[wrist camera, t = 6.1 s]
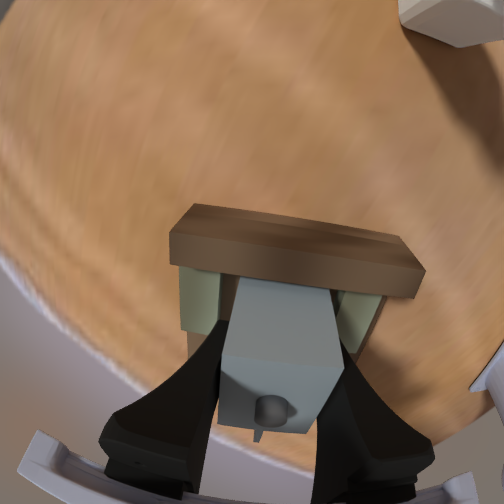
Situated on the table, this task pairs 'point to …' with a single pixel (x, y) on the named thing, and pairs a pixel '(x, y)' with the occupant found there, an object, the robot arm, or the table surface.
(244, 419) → the grey knobbed box
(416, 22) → the pepper shaker
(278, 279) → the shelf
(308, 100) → the table surface
